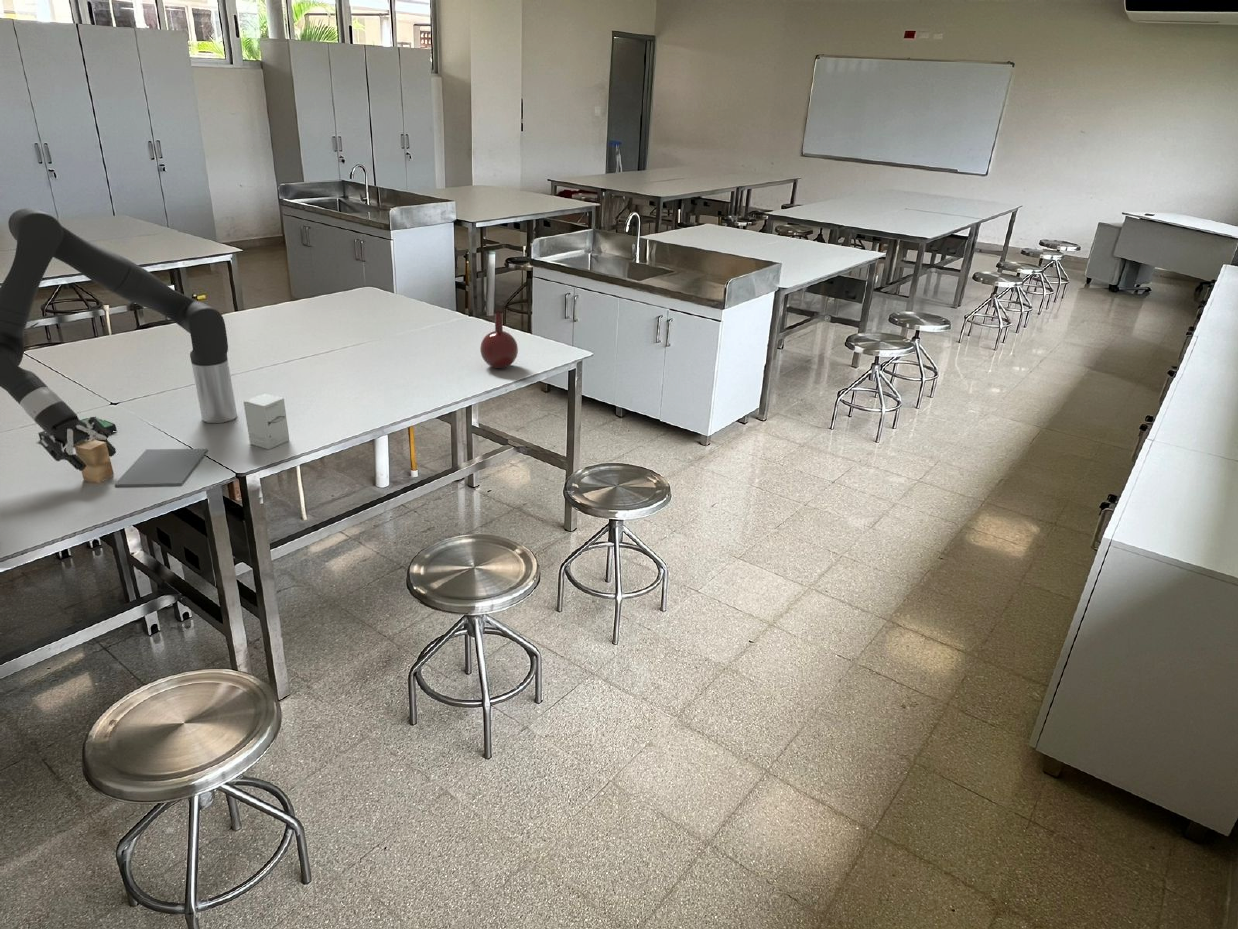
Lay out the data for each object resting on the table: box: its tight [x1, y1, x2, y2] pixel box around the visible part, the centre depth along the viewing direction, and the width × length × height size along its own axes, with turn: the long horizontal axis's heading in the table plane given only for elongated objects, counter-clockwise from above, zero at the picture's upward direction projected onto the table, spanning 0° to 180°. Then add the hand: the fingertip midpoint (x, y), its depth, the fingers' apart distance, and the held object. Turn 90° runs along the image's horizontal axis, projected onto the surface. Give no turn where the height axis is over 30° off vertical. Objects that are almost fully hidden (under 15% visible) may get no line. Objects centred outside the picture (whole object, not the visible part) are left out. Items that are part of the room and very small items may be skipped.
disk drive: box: [38, 416, 118, 450], centre depth 214 cm, size 10×3×15 cm
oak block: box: [74, 440, 115, 484], centre depth 191 cm, size 4×4×9 cm
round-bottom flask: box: [479, 310, 519, 369], centre depth 278 cm, size 13×13×20 cm
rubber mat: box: [113, 448, 209, 487], centre depth 200 cm, size 20×15×1 cm
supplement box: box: [243, 393, 290, 450], centre depth 214 cm, size 7×7×13 cm
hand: (99, 461), depth 191 cm, fingers open, 8 cm apart
